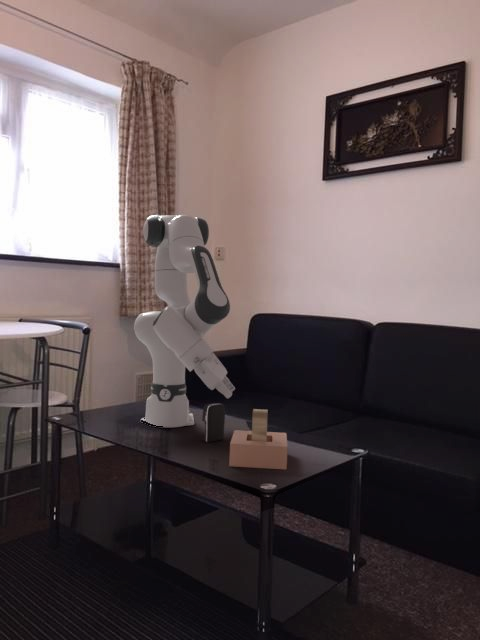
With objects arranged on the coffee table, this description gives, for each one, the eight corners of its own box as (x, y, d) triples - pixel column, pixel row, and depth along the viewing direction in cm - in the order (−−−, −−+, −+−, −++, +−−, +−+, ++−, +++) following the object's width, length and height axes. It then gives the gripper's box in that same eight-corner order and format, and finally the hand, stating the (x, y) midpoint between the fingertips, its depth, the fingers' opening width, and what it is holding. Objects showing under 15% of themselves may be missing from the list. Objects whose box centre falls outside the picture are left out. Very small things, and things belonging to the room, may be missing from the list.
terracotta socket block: (233, 450, 156) (234, 430, 156) (285, 453, 155) (286, 432, 155) (229, 466, 141) (230, 443, 141) (286, 469, 140) (287, 446, 140)
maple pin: (251, 451, 150) (253, 409, 150) (266, 452, 150) (267, 409, 149) (251, 455, 146) (252, 411, 146) (265, 456, 146) (267, 412, 145)
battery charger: (216, 437, 171) (217, 401, 170) (224, 439, 168) (226, 403, 167) (199, 440, 166) (201, 403, 165) (207, 443, 163) (209, 405, 163)
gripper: (201, 352, 138) (237, 392, 137) (210, 345, 158) (242, 380, 158) (183, 368, 138) (219, 408, 138) (195, 360, 158) (226, 394, 158)
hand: (231, 393), depth 148 cm, fingers open, 8 cm apart
